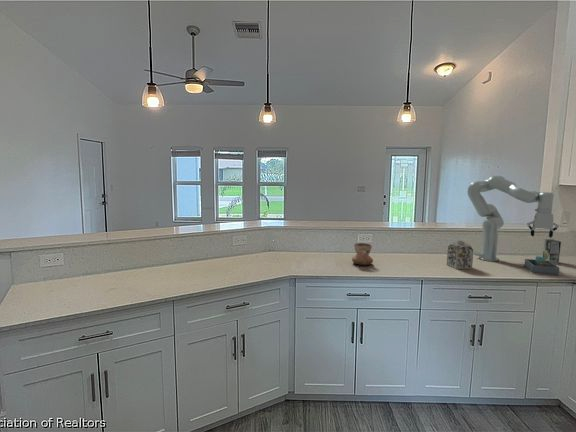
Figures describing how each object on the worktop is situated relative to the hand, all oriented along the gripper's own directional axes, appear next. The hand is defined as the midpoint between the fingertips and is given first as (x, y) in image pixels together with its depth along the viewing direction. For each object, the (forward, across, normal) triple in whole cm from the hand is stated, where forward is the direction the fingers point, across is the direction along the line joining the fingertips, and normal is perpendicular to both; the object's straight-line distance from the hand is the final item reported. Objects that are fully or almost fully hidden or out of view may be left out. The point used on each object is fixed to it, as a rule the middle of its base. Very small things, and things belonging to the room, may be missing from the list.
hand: (541, 236), depth 221 cm
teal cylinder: (+21, +1, 0) cm, 21 cm away
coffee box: (+22, +14, +24) cm, 35 cm away
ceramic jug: (+24, -111, -33) cm, 119 cm away
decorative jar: (+23, -48, -15) cm, 56 cm away
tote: (+22, +1, -4) cm, 22 cm away
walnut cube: (+21, +1, -8) cm, 23 cm away
